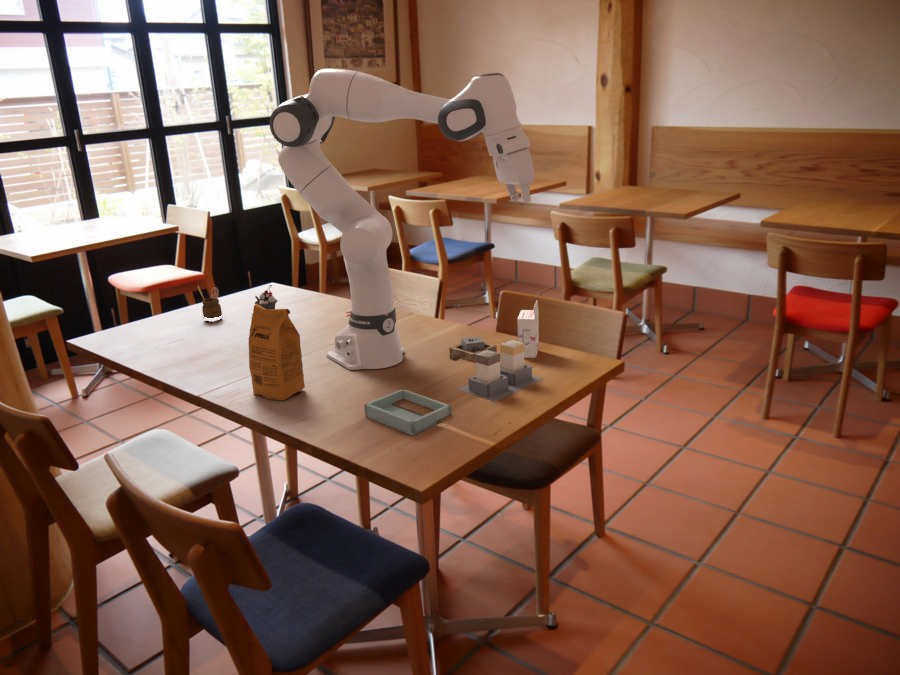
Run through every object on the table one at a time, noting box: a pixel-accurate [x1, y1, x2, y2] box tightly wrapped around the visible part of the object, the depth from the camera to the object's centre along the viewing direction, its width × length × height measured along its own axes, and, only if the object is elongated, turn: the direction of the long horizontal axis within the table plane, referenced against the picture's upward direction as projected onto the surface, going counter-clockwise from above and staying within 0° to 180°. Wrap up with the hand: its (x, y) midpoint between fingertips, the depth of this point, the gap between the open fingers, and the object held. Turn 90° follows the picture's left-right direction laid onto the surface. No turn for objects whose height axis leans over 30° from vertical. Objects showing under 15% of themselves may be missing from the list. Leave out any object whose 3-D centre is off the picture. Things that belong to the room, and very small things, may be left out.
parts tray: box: [364, 388, 452, 437], centre depth 165 cm, size 16×12×3 cm
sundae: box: [254, 284, 278, 310], centre depth 227 cm, size 7×7×15 cm
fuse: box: [499, 339, 525, 372], centre depth 181 cm, size 4×4×9 cm
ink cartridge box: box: [516, 299, 540, 359], centre depth 198 cm, size 9×5×15 cm, turn 168°
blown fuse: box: [474, 350, 501, 384], centre depth 175 cm, size 4×4×9 cm
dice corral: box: [449, 342, 498, 363], centre depth 200 cm, size 9×9×3 cm
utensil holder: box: [197, 285, 223, 318], centre depth 244 cm, size 6×6×12 cm
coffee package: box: [248, 303, 306, 401], centre depth 179 cm, size 10×12×22 cm
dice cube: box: [460, 336, 485, 353], centre depth 200 cm, size 5×5×5 cm
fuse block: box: [457, 363, 544, 403], centre depth 179 cm, size 12×18×4 cm, turn 136°
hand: (521, 201), depth 176 cm, fingers open, 8 cm apart
